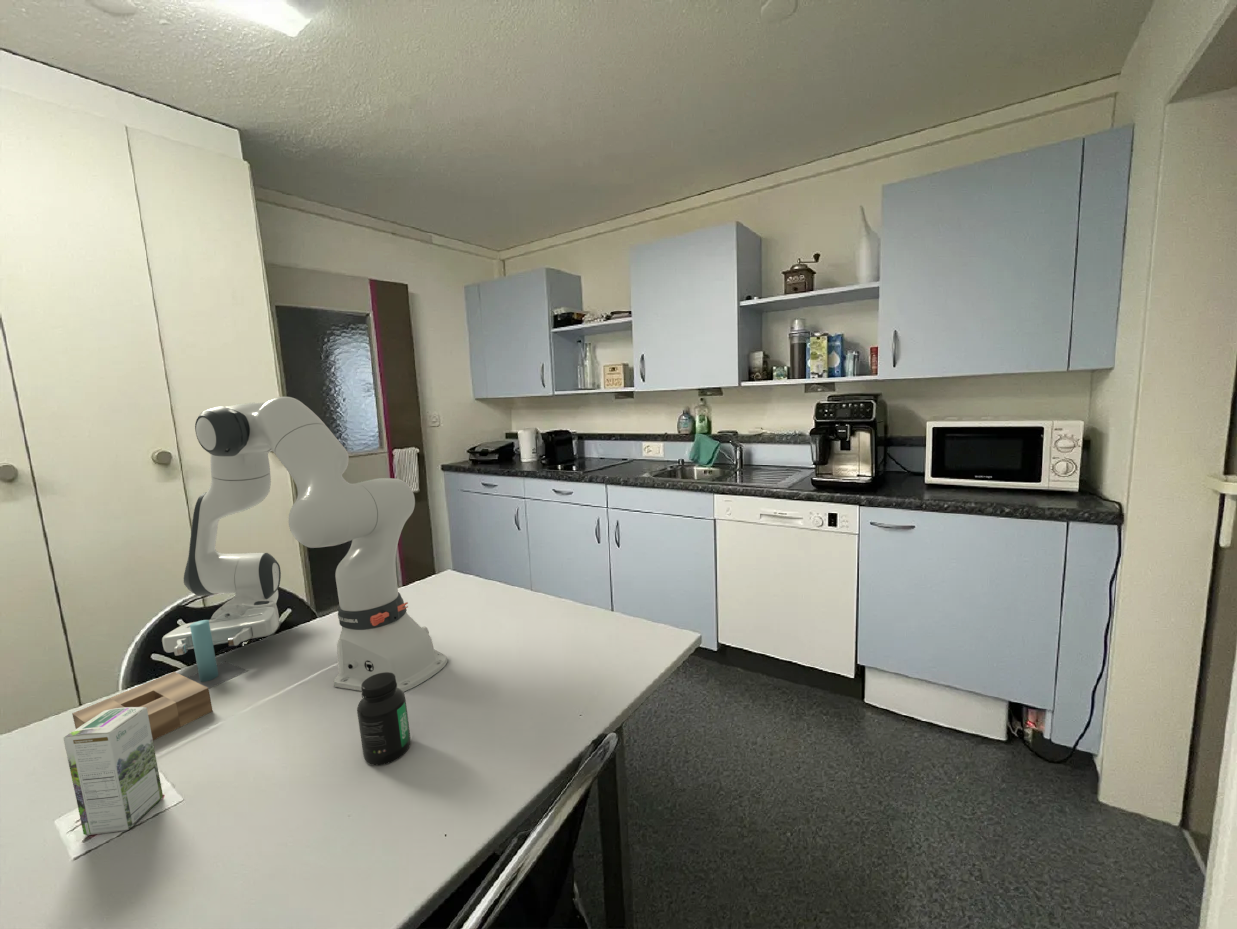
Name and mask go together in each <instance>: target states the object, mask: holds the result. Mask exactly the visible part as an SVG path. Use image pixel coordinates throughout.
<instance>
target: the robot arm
mask: <svg viewBox="0 0 1237 929" xmlns="http://www.w3.org/2000/svg"><path fill="white" fill-rule="evenodd" d="M194 427H195V428H194V429H195V436H196V439H197V441H198V443H199V445H200V446H201V448H202V449H203V450H204V451H205V452H207V453H208V454H210V478H211V480H210V481H211V482H210V485H209V488H208V490H207V491H206V492H203V493H201V494H200V495H199V496H198V498H197V501H196V503H195V505H194V509H193V513H192V523H191V530H190V538H189V539H190V540H189V550H188V555H187V556H188V557H187V562H186V565H185V568H184V573H183V584H184V587H185V588H186V589H187V590H188V591H190V593H193V594H194V595H195V596H198V597H202V596H213V595H218V594H235V595H234V596H233V598H231V599H230V600H228V601H227V602H225V603H224V604H223V605H222V606H220V607H219V608H218V609H217V610H215V612H213V614H212V616H211V617H210V619H208V620H209V624H210V630H211V635H212V641H213V646H215V645H221V644H228V647H233V646H234V647H235V646H239V644H241V643H243V642H244V641H247V640H252V639H256V638H257V639H258V638H263V637H268V636H271V635H273V634H274V633H275V632H276V631H277V630H278V627H279V626H280V615H279V609H278V606H277V602H278V599H279V590H278V589H279V588H280V584H281V577H282V576H281V574H282V573H281V572H282V571H281V567H280V564H279V562H278V561H277V560H276V558H275V557H274V556H273V555H271V554H270V553H269V552H244V553H242V552H241V553H223V552H219V551H218V550H216V543H217V536H218V535H217V534H218V525H219V522H220V520H221V519H224V518H226V517H229V516H232V515H235V514H239V513H242V512H244V511H247V510H250V509H252V508H254V507H256V506H258V505H259V504H260V503H262V502H263V501H264V500H265V499H266V498H267V497H268V495H269V494H270V490H271V483H272V481H271V480H272V479H271V477H272V476H271V468H270V460H269V453H270V452H273V454H275V456H276V457H277V459H278V461H280V462H281V464H282V465H283V466H284V468H285V469H286V471H287V472H288V474H289V475H290V476H291V478H292V480H293V482H294V483H295V486H296V490H297V497H296V500H295V502H294V503H293V504H292V506H291V508H290V510H289V514H288V527H289V531H290V533H291V535H292V536H293V537H294V539H295V540H296V541H297V542H298V543H299V544H301V545H303V546H305V547H307V548H310V549H314V548H325V547H334V546H339V545H341V544H345V543H347V542H350V541H351V545H350V548H349V549H348V551H347V553H346V554H345V556H344V557H343V558H342V560H340V562H339V563H338V565H337V566H336V569H335V574H334V575H335V576H334V577H335V582H336V588H337V589H336V591H337V596H338V602H339V604H338V606H337V616H338V617H337V618H338V622H339V625H340V626H341V631H340V634H339V638H338V640H337V642H336V646H337V647H336V651H337V652H336V653H337V672H338V674H337V675H336V677H335V678H334V680H333V686H334V688H335V687H336V688H340V689H347V690H353V691H360V692H362V689H361V685H362V683H363V681H365V680H366V679H367V678H369V677H370V676H373V675H375V674H379V673H384V672H389V673H393V674H394V675H395V677H396V683H397V688H399V689H401V690H402V691H403V692H404V693H405V692H406V691H408V690H409V691H410V690H411V689H413V688H415V687H417V686H418V685H420V684H422V683H424V682H425V681H427V680H429V679H430V678H431V677H433V676H434V675H436V674H437V673H439V672H440V671H441V670H442V669H443V668H444V667H445V666H446V665H447V663H448V661H449V658H448V656H447V655H446V654H444V653H442V652H440V651H438V650H436V649H435V648H434V645H433V644H434V643H433V639H432V637H431V635H430V631H429V629H428V627H427V626H421V625H420V624H419V623H418V622H416V620H414V618H413V617H411V616H410V615H409V613H408V612H407V608H409V606H408V604H409V602H408V601H406V602H405V601H404V599H403V597H402V594H401V593H400V592H399V588H398V579H397V565H396V557H397V556H396V555H397V550H398V544H399V539H400V537H401V533H402V532H403V528H404V526H405V524H406V522H407V521H408V520H409V518H410V517H411V516H412V514H413V512H414V509H415V506H416V498H415V494H414V492H413V489H412V487H411V486H410V485H409V484H408V483H407V482H406V481H404V480H402V479H400V478H390V477H383V478H382V477H380V478H373V479H369V480H363V481H359V482H356V483H355V482H354V483H350V482H349V481H347V480H346V479H345V478H344V476H343V474H344V473H345V472H346V471H347V468H348V466H349V462H350V461H349V460H350V458H349V453H348V451H347V450H346V448H345V447H344V445H343V444H342V443H341V442H340V440H338V438H337V437H336V436H335V434H334V433H333V432H332V431H331V430H330V428H329V427H328V426H327V425H326V424H325V422H324V421H322V419H321V418H320V417H319V416H318V415H317V414H316V413H315V412H314V411H313V410H311V409H310V408H309V407H308V406H307V405H305V404H304V403H303V402H302V401H300V400H299V399H298V398H294V397H292V396H278V397H274V398H272V399H269V400H268V401H266V402H247V403H239V404H238V403H237V404H234V405H228V406H224V405H219V406H215V407H211V408H208V409H205V410H203V411H202V412H200V413H199V415H198V416H197V417H196V420H195V425H194ZM406 605H407V606H406ZM195 622H196V621H193V622H192V621H191V622H189V623H184V624H183V625H180V626H178V627H176V628H174V629H173V630H171V631H169V632H168V633H166V634H165V635H163V637H162V638H161V642H162V647H163V651H164V652H166V653H174V656H176V657H177V656H182V655H185V654H186V653H188V652H189V650H192V649H193V650H194V645H193V640H192V634H191V629H190V625H191V624H193V623H195Z"/></svg>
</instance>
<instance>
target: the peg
mask: <svg viewBox="0 0 1237 929" xmlns="http://www.w3.org/2000/svg"><path fill="white" fill-rule="evenodd" d="M209 620H210V619H203V620H202V619H201V620H198V621H194V622H195V623H193V624H191V625H190V629H191V634H192V640H193V645H194V648H193V650H194V651H193V652H194V655H195V662H196V667H197V673H199V678H200V681H201V682H205V681H209V680H212V679H214V678H216V677H217V676H218V669H217V664H218V663H217V659H216V654H215V647H214V645H213V641H212V635H211V630H210V624H209Z"/></svg>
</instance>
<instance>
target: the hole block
mask: <svg viewBox="0 0 1237 929" xmlns="http://www.w3.org/2000/svg"><path fill="white" fill-rule="evenodd" d="M187 677H188V676H185V675H182V674H180V673H178V672H176V671H173V672H170V673H168V674H165V675H163V676H161V677H158V678H155V679H153V680H151V681H148V682H146V683H143V684H141V685H139V686H138V685H137V686H136V687H133V688H131V689H129V690H125V691H123V692H122V693H119V694H116V695H114V696H112V697H109V698H107V699H103V700H101V701H99V702H96V703H95V704H92V705H89V706H87V707H83V708H82V709H80V710H78V711H75V712H72V718H73V724H74V727H75V730H76V729H77V728H79V727H80V726H82V725H83V724H85V723H86V722H88V721H89V720H91V719H92V718H94V717H95V716H97V715H99V714H100V713H101V712H103V711H105V710H110V709H115V708H124V707H145V708H147V712H148V717H149V723H150V728H151V734H152V738H153V741H155V740H157V739H159V738H161V737H163V736H165V735H167V734H169V733H171V732H173V731H176V730H177V729H180V728H182V727H183V726H186V725H188V724H189V723H192V722H194V721H195V720H197V719H199V718H201V717H204V716H206V715H208V714H210V713H213V710H214V709H213V706H212V705H213V704H212V701H211V695H210V690H209V689H208V687H205V686H203V685H201V684H199V683H197V682H195V681H193V680H191V679H189V678H187Z"/></svg>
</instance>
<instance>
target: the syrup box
mask: <svg viewBox="0 0 1237 929" xmlns="http://www.w3.org/2000/svg"><path fill="white" fill-rule="evenodd" d="M63 741H64V743H63V744H64V747H65V752H66V758H67V763H68V767H69V771H70V776H71V782H72V785H73V790H74V795H75V800H76V804H77V808H78V814H79V818H80V824H81V829H82V834H83V835H85V836H91V835H98V834H101V835H102V834H108V833H113V832H114V833H115V832H122V831H129V830H130V829H131V828H132V827H133V826H134V825H136V824H137V823H138V822H139V820H141V819H142V818H143V817H144V816H145V815H146V814H147V813H148V812H149V811H150V810H151V809H152V808H153V807H154V806H156V804H157V803H158V802H160V801H161V800H162V798H163V794H164V793H163V789H162V783H161V779H160V773H159V767H158V761H157V756H156V750H155V747H154V746H155V745H154V740H153V738H152V734H151V728H150V723H149V717H148V712H147V708H145V707H124V708H115V709H110V710H105V711H103V712H101V713H100V714H99V715H97V716H95V717H94V718H92V719H91V720H89V721H88V722H86V723H85V724H83V725H82V726H80V727H79V728H77V729H76V728H75V729H74V730H73V731H71V732H70V733H68V734H67V735H65V736H64V737H63Z"/></svg>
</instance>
